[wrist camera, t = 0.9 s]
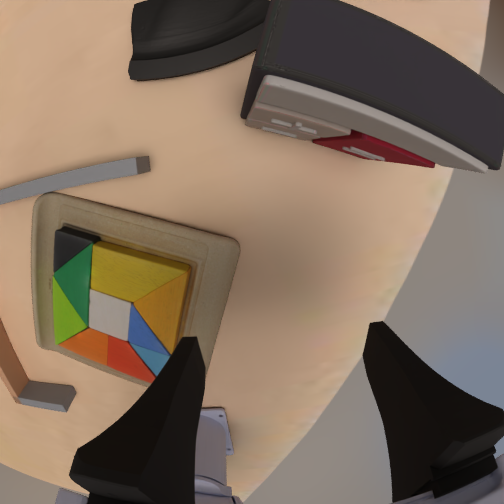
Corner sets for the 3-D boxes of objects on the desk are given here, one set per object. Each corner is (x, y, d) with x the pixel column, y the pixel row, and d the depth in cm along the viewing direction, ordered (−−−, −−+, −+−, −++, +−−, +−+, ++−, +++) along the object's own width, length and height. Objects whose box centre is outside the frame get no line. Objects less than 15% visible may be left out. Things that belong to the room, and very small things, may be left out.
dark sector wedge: (301, 73, 22) (306, 68, 20) (134, 87, 21) (128, 84, 20) (292, -9, 19) (296, -17, 17) (135, 5, 18) (129, -2, 17)
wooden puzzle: (45, 188, 23) (24, 194, 20) (244, 235, 26) (245, 248, 22) (44, 342, 28) (31, 359, 25) (202, 388, 31) (199, 412, 27)
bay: (194, 396, 30) (191, 420, 27) (26, 386, 30) (15, 402, 26) (148, 156, 23) (135, 157, 19) (-38, 203, 22) (-58, 211, 18)
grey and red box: (237, 127, 22) (246, 88, 8) (250, 76, 21) (276, -21, 7) (367, 163, 24) (500, 189, 10) (377, 116, 23) (513, 100, 8)
